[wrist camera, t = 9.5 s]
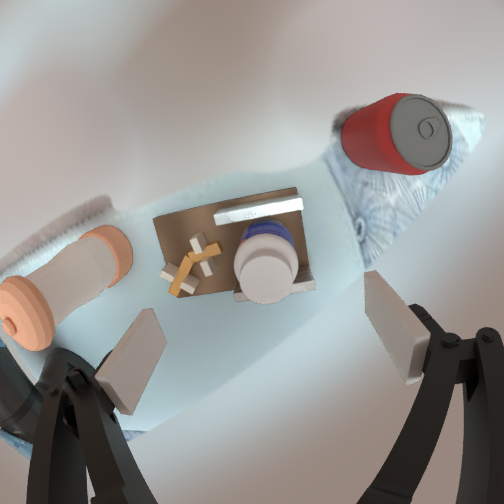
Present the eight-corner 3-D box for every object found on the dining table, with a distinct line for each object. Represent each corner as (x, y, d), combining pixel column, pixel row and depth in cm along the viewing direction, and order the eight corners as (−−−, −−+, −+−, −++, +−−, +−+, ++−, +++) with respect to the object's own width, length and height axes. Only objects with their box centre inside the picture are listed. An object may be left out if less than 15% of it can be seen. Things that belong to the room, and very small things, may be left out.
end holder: (239, 285, 31) (235, 302, 27) (221, 207, 28) (213, 215, 24) (309, 273, 30) (315, 289, 26) (297, 192, 27) (301, 198, 23)
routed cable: (172, 294, 32) (166, 303, 30) (155, 241, 30) (147, 248, 27) (232, 285, 31) (229, 295, 29) (217, 228, 29) (213, 234, 27)
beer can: (403, 150, 25) (469, 151, 14) (362, 180, 27) (415, 195, 16) (372, 101, 24) (427, 74, 13) (327, 130, 26) (365, 111, 14)
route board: (179, 294, 33) (177, 297, 32) (156, 217, 30) (152, 219, 29) (309, 273, 31) (310, 277, 30) (295, 187, 28) (296, 188, 27)
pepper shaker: (80, 246, 32) (-21, 312, 14) (108, 213, 30) (-12, 271, 12) (112, 287, 33) (25, 375, 15) (143, 258, 32) (43, 351, 14)
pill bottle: (239, 218, 28) (224, 247, 19) (291, 215, 28) (301, 243, 19) (243, 266, 30) (231, 313, 21) (292, 264, 30) (301, 311, 20)
